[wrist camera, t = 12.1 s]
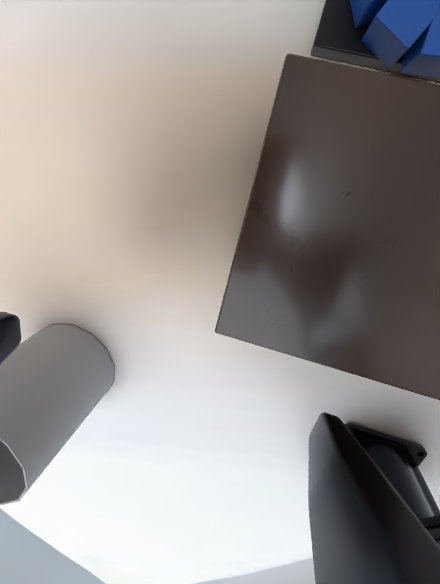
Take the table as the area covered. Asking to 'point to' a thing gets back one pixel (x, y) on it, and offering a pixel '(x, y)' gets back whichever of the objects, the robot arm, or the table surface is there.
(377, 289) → the box
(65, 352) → the cup
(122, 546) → the table surface
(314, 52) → the peg stand
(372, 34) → the ring
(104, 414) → the table surface
